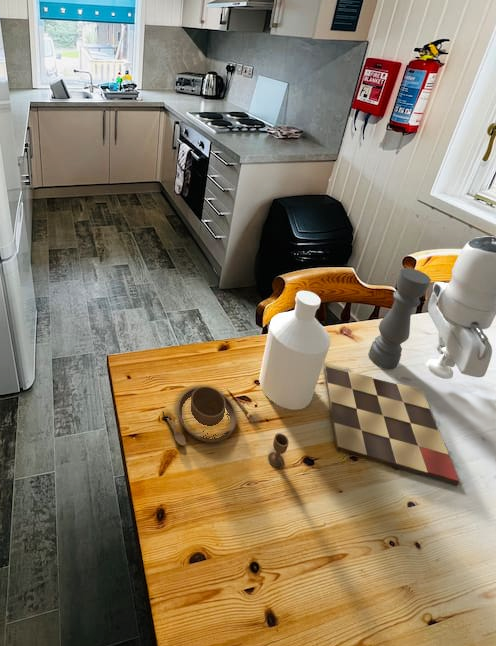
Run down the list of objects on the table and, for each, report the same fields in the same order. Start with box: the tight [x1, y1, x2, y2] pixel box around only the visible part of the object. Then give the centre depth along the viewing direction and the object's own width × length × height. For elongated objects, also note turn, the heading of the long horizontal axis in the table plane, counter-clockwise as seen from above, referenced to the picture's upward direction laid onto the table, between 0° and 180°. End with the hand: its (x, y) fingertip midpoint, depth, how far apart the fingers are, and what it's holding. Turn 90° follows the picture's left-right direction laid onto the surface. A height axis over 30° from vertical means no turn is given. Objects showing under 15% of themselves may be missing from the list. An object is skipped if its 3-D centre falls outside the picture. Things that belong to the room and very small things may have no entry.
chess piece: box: [425, 345, 454, 380], centre depth 87 cm, size 5×5×10 cm
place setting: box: [165, 386, 290, 469], centre depth 77 cm, size 18×20×6 cm
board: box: [323, 366, 460, 487], centre depth 82 cm, size 20×20×1 cm
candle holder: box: [368, 267, 432, 371], centre depth 92 cm, size 6×6×25 cm
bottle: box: [258, 290, 331, 411], centre depth 84 cm, size 12×12×25 cm
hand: (444, 358), depth 87 cm, fingers closed on chess piece
